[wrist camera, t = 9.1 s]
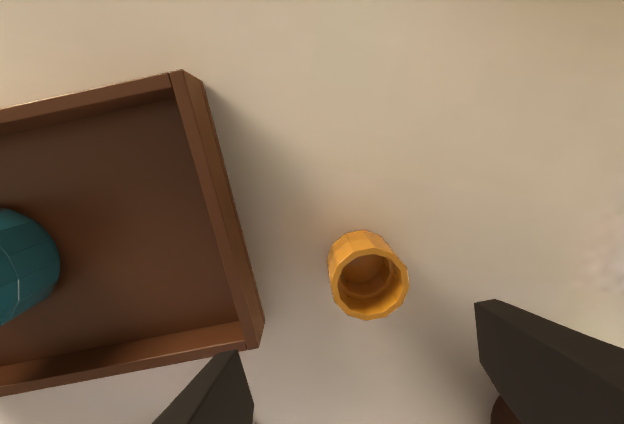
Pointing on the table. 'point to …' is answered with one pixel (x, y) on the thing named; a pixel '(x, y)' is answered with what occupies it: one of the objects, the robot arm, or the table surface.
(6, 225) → the teal hollow cylinder
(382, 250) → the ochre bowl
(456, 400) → the table surface
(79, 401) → the table surface
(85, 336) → the tray
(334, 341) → the table surface
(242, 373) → the robot arm
